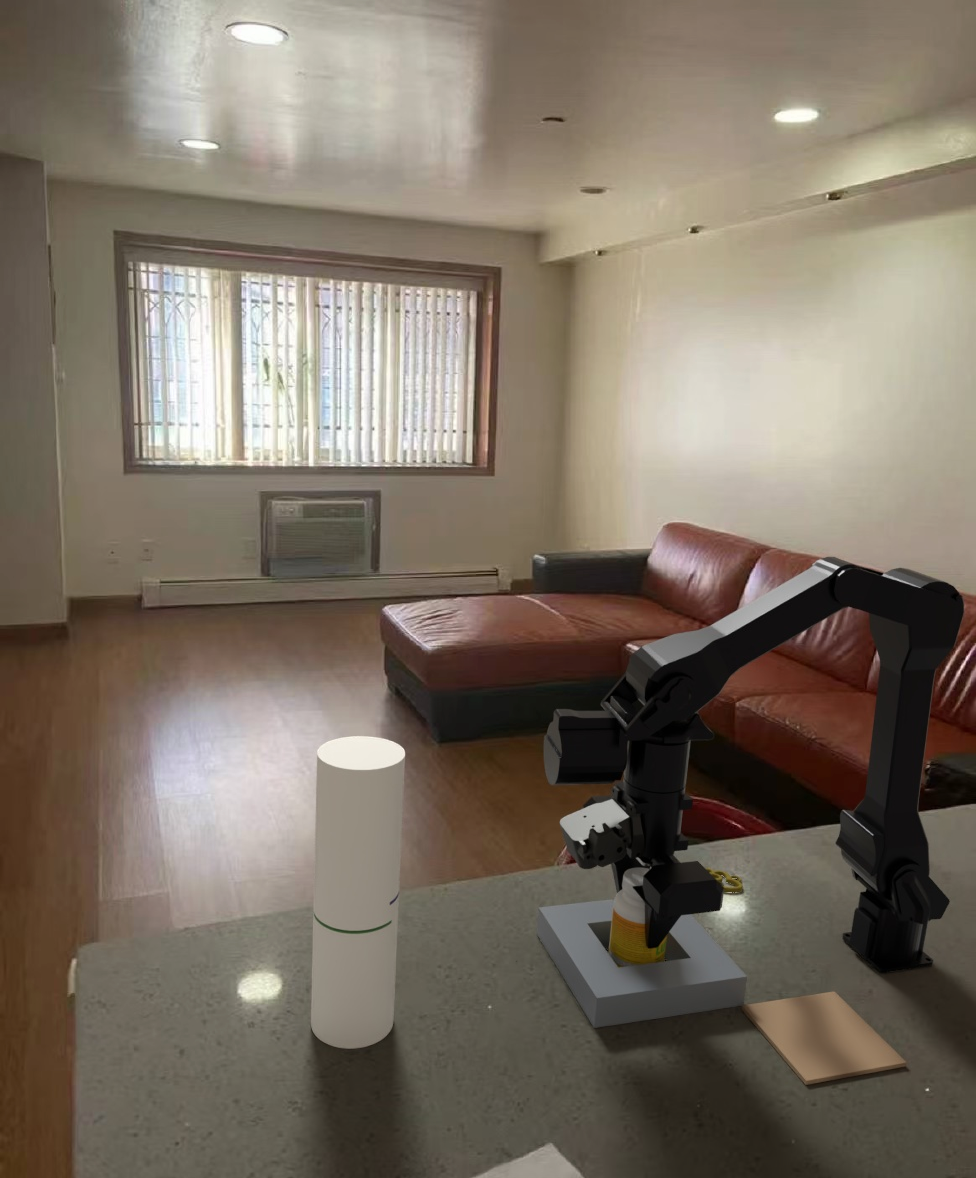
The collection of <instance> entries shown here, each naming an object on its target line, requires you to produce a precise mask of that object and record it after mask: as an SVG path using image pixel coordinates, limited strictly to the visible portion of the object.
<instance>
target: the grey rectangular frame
mask: <svg viewBox="0 0 976 1178" xmlns="http://www.w3.org/2000/svg"><path fill="white" fill-rule="evenodd" d="M613 903H614V898H612V899H602V900H593V901H584V902H576V903H575V902H574V903H568V904H567V903H566V904H565V903H564V904H557V905H550V906H549V905H548V906H540V907H538V912H537V925H536V935H537V937H538V939H539V940H540V941H541V943H542V945H543V947H544V948H545V949H546V952H547V953H548V955H549V956H550V958H551V959H552V961H553V963H554V965H555V966H556V968H557V970H558V971H559V973H560V974H561V976H562V978H563V979H564V981H565V983H566V985H567V986H568V988H569V989H570V991H571V992H572V994H573V996H574V997H575V999H576V1001H577V1002H578V1004H579V1006H580V1007H581V1009H582V1011H583V1012H584V1014H585V1016H586V1017H587V1019H588V1021H589V1022H590V1024H591V1025H592V1027H593V1028H594V1029H598V1028H602V1027H610V1026H617V1025H623V1024H629V1023H636V1022H643V1021H649V1020H654V1019H655V1020H656V1019H662V1018H668V1017H674V1016H675V1017H676V1016H681V1015H682V1016H683V1015H688V1014H696V1013H700V1012H709V1011H713V1010H715V1011H716V1010H719V1009H727V1008H733V1007H739V1006H740V1007H742V1005H745V1004H744V1002H745V997H746V988H747V979H748V976H747V975H746V974H745V973H744V971H743V970H742V969H741V968H740V967H739V966H738V965H737V964H736V962H735V961H734V960H733V959H732V958H731V957H730V956H729V955H728V954H727V953H726V951H725V950H724V949H723V948H722V947H721V946H720V945H719V944H718V943H717V942H716V941H715V939H714V938H713V937H712V936H711V935H710V934H709V932H707V931H706V929H705V928H704V927H703V926H702V925H701V924H700V922H698V921H697V920H696V918H695V917H694V916H693V914H689V915H681V917H680V918H679V919H678V921H677V922H676V923H675V925H674V926H673V927H672V929H671V930H670V931H669V933H668V934H667V941H666V949H665V958H664V959H666V961H665V960H664V962H657V963H650V964H642V965H635V966H627V967H620V968H618V966H617V965H616V964H615V962H614V961H613V959H612V958H611V957H610V955H609V954H608V953H609V951H607V950H606V948H608V949H609V943H610V933H611V923H612V913H613Z"/></svg>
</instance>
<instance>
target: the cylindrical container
mask: <svg viewBox="0 0 976 1178" xmlns="http://www.w3.org/2000/svg"><path fill="white" fill-rule="evenodd" d="M405 768H406V750H405V749H404V747H403V746H401V744H399V743H397V742H395V741H392V740H390V739H387V738H383V737H376V736H367V735H366V736H365V735H355V736H352V735H351V736H344V737H338V738H335V739H331V740H329V741H326V742H324V743H322V744H321V745H320V746H319V747H318V749H317V750H316V779H315V780H316V781H315V782H316V789H315V790H316V791H315V827H314V828H315V830H314V831H315V832H314V833H315V834H314V864H313V865H314V868H313V869H314V873H313V876H314V878H313V905H312V906H313V914H312V915H313V916H312V920H313V921H312V957H311V958H312V960H311V1007H310V1010H311V1011H310V1027H311V1030H312V1032H313V1034H314V1035H315V1037H317V1039H318V1040H320V1041H321V1042H323V1043H325V1044H326V1045H328V1046H331V1047H335V1048H339V1049H349V1050H350V1049H353V1050H354V1049H360V1048H361V1049H362V1048H366V1047H370V1046H371V1045H375V1044H376V1043H378V1042H380V1041H382V1040H383V1039H384V1038H386V1037H387V1036H388V1035H389V1033H390V1032H391V1031H392V1029H393V1026H394V1025H393V1024H394V1022H395V1021H394V1017H395V1015H394V1014H395V997H396V993H395V992H396V973H397V972H396V971H397V969H396V968H397V951H398V950H397V949H398V948H397V947H398V929H399V926H398V924H399V904H400V884H401V883H400V881H401V860H402V859H401V858H402V857H401V856H402V839H403V836H402V834H403V833H402V830H403V813H404V812H403V810H404V792H405V791H404V790H405V772H406V771H405Z"/></svg>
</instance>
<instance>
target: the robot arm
mask: <svg viewBox="0 0 976 1178" xmlns="http://www.w3.org/2000/svg"><path fill="white" fill-rule="evenodd" d="M847 608H851V609H854V610H859V611H863V612H866V613H867V614H868V620H869V621H868V622H869V624H868V625H869V631H870V634H871V636H872V640H873V643H874V645H875V649H876V651H877V652H876V653H877V655H878V658H879V671H878V680H877V690H876V698H875V699H876V700H875V705H874V715H873V722H872V723H873V724H872V733H871V742H870V748H869V749H870V752H869V758H868V759H869V760H868V768H867V769H868V770H867V776H866V785H865V786H866V787H865V793H864V796H863V797H864V798H863V799H862V800H861V801H860V802H859V804H857V806H856V807H855V808H854V810H848V809H847V810H846V809H842V810H841V811H840V813H839V822H840V825H839V827H840V828H839V835H838V837H837V838H836V841H835V845H836V846H837V847H839V849H840V853H841V856H842V860H844V861H845V863H846V864H847V865H848V866H849V868H850V869H851V873H852V878H853V879H855V880H856V881H858V882H859V883H860V884H861V885H862V886H863V887H864V888H865V891H860V893H859V898H858V903H857V907H855V908H854V912H853V918H852V925H851V931H849V932H843V933H842V937H841V939H842V940H843V941H844V942H845V943H846V944H848V946H850V947H851V948H852V949H853V950H855V952H857V954H859V955H860V956H861V958H863V959H865V961H867V962H868V963H869V964H870V965H871V967H873V968H875V969H876V970H877V971H878V972H880V973H885V974H886V973H892V972H894V973H895V972H900V971H907V970H913V969H918V968H919V969H920V968H927V967H932V966H933V965H934V959H933V958H932V957H930V955H928V954H927V953H925V952H924V948H925V947H924V946H925V940H926V936H927V935H926V934H927V929H928V923H929V922H930V921H931V920H933V921H934V920H941V919H942V918H943V916H944V915H945V912H946V910H947V909H948V907H949V905H950V902H951V901H950V899H949V898H948V896H947V895H946V894H945V893H944V892H943V890H942V889H941V888H940V887H939V886H938V885H937V884H936V883H935V881H933V879H932V878H931V877H930V873H931V872H930V870H931V867H930V847H929V843H930V842H929V841H928V837H927V835H926V832H925V831H926V830H925V828H924V825H923V822H922V820H921V816H920V813H919V802H920V801H919V799H920V791H921V786H922V785H921V784H922V777H923V768H924V762H925V754H926V753H925V752H926V746H927V739H928V738H927V737H928V730H929V722H930V714H931V706H932V700H933V691H934V684H935V683H934V682H935V678H936V677H935V676H936V673H937V672H936V671H937V669H938V667H939V666H940V665H942V663H943V661H944V660H945V659H946V658H947V656H949V654H950V653H951V652H952V651H953V649H954V648H955V646H956V643H957V640H958V639H957V638H958V637H959V633H960V629H961V627H962V622H963V618H964V615H965V601H964V597H963V594H960V592H959V591H958V589H956V587H955V586H954V585H952V584H950V583H948V582H946V581H944V580H940V579H939V578H938V579H937V578H935V577H932V576H930V575H926V574H925V573H921V572H918V571H915V570H912V569H910V568H904V567H897V568H891V569H890V570H888V571H886V572H881V571H878V570H874V569H872V568H867V567H865V566H860V565H857V564H854V563H851V562H849V561H846V560H844V559H841V558H839V557H836V556H825V557H823V558H820V559H817V560H816V561H815V562H813V563H812V564H811V566H810V567H809V568H808V569H806V570H804V571H803V572H801V573H799V574H798V575H796V576H794V577H792V578H790V579H789V580H787V581H785V582H784V583H782V584H781V585H778V586H777V587H775V588H773V589H771V590H770V591H767V592H766V593H765V594H763V595H761V596H759V597H758V598H756V599H754V600H752V601H751V602H749V603H747V604H745V605H743V606H742V607H740V608H738V609H737V610H735V611H733V612H731V613H729V614H728V615H726V616H724V617H723V618H721V619H719V620H717V621H715V622H714V623H713V624H711V625H708V626H705V627H703V628H700V629H697V630H691V631H685V632H677V633H674V634H671V635H668V636H666V637H663V638H660V639H658V640H655V641H652V642H650V643H647V644H645V645H643V646H641V647H640V648H638V649H636V650H635V651H634V652H632V654H631V656H630V657H629V662H628V664H627V667H626V669H625V672H624V674H623V675H622V676H621V677H620V678H619V680H618V681H617V682H616V683H615V685H614V686H613V687H612V688H611V689H610V690H609V692H607V694H606V695H605V696H604V697H603V699H602V700H601V701H600V706H601V707H602V708H603V710H574V709H570V708H556V709H554V711H553V717H552V718H553V720H552V721H551V722H549V725H548V728H547V731H546V735H543V736H544V737H543V750H542V751H543V765H544V766H543V767H544V771H545V775H546V776H545V777H546V779H547V781H548V783H549V785H551V786H569V785H570V786H571V785H572V786H574V785H579V786H580V785H581V786H582V785H612V784H614V786H611V791H610V795H599V796H591V797H590V798H589V799H588V800H587V801H586V802H585V803H584V804H583V805H582V808H581V809H580V810H579V809H578V810H577V811H574V812H572V813H570V814H567V815H565V816H564V817H562V818H560V820H559V827H560V829H561V832H562V837H563V839H564V842H565V843H564V844H565V847H566V851H567V852H568V854H569V855H570V856H572V858H573V859H574V860H575V862H576V863H577V866H578V867H579V868H581V869H583V870H591V869H594V868H596V867H600V868H605V867H607V866H609V865H610V867H611V871H612V874H613V875H612V876H613V880H614V885H615V890H616V894H617V893H618V892H619V891H620V890H622V882H623V875H624V873H625V871H627V870H628V869H631V868H648V869H650V870H649V871H648V872H647V873H646V874H645V875H644V876H643V885H642V886H633V889H634V891H635V892H636V893H637V894H638V895H639V897H640V898H641V899H642V900H643V901H644V903H645V938H646V946H647V947H648V948H649V949H651V948H657V947H658V946H659V945H660V944H661V942H662V941H663V940H664V938H665V937H666V936H667V934H668V933H669V931H670V930H671V929H672V927H673V926H674V925H675V923H676V922H677V921H678V919H679V918H680V917H681V915H689V914H691V915H695V914H703V913H713V912H720V911H721V909H722V908H723V902H724V887H723V886H724V885H722V883H719V882H718V881H717V880H716V879H715V878H714V877H713V876H712V875H711V874H710V873H709V872H708V871H707V870H706V869H705V868H706V867H704V866H703V864H701V863H700V861H699V860H695V861H684V862H681V861H680V860H678V858H677V857H676V856H675V852H682V851H687V850H688V848H689V841H690V840H689V839H688V838H687V837H686V835H684V834H683V833H682V832H681V831H682V830H681V827H682V822H683V821H682V818H683V811H688V810H693V804H694V799H693V797H691V796H690V795H689V794H688V793H687V792H686V786H687V776H688V775H687V774H688V766H689V758H690V749H691V741H712V740H713V739H714V738H715V733H714V732H713V731H712V730H711V729H710V728H709V727H708V726H707V725H706V724H705V723H704V721H703V720H702V717H701V714H699V711H701V710H702V709H703V708H704V707H705V706H707V705H708V704H709V703H710V702H712V700H714V699H715V698H716V697H718V696H719V694H721V693H722V691H723V689H724V688H725V686H726V684H727V682H728V681H729V680H730V678H731V677H732V676H733V675H734V674H736V673H737V672H738V671H739V670H740V669H742V668H743V667H745V666H747V665H749V664H750V663H752V662H754V661H757V659H759V658H761V657H762V656H765V654H768V653H769V652H771V651H773V650H774V649H776V648H778V647H780V646H782V645H783V644H785V643H787V642H789V641H790V640H791V639H794V638H795V637H797V636H799V635H800V634H802V633H804V632H805V631H807V630H809V629H811V628H813V627H814V626H815V625H816V626H817V624H819V623H821V622H823V621H824V620H826V619H828V618H829V617H831V616H834V615H835V614H837V613H838V612H841V610H844V609H847ZM637 701H639V702H640V703H641V704H642V705H643V706H642V707H641V709H640V710H638V709H637V708H636V707H635V706H634V705H633V703H635V702H637ZM622 778H623V780H622Z"/></svg>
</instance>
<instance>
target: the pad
mask: <svg viewBox="0 0 976 1178" xmlns="http://www.w3.org/2000/svg"><path fill="white" fill-rule="evenodd" d="M741 1011H742V1012H743V1013H744V1014H745V1016H746V1017H747V1018H748V1019H749V1020H750V1021H751V1022H752V1024H753V1025H754V1026H755V1027H756V1029H758V1031H759V1032H760V1033H761V1034H762V1035H763V1036H764V1037H765V1039H766V1040H767V1042H769V1043H770V1045H771V1046H772V1047H773V1049H775V1051H776V1052H777V1053H778V1054H779V1055H780V1056H781V1058H782V1059H783V1060H784V1062H785V1063H786V1064H787V1065H788V1066H789V1067H790V1069H791V1070H792V1071H793V1072H794V1073H795V1074H796V1076H797V1077H798V1078H799V1079H800V1081H802V1082H803V1083H804V1085H805V1086H806V1085H813V1084H818V1083H822V1082H828V1081H834V1080H840V1079H845V1078H850V1077H856V1076H861V1075H868V1074H872V1073H877V1072H883V1071H887V1070H888V1071H889V1070H893V1069H899V1068H904V1067H906V1066H907V1061H906V1060H905V1059H904V1058H903V1057H902V1056H901V1055H900V1054H899V1053H898V1052H897V1051H896V1050H895V1049H894V1048H893V1047H891V1045H890V1044H888V1043H887V1041H886V1040H885V1039H883V1038H882V1037H881V1035H880V1034H879V1033H878V1032H876V1031H875V1030H874V1028H873V1027H872V1026H870V1025H869V1024H868V1023H867V1022H866V1021H865V1020H864V1019H863V1018H862V1017H861V1016H860V1015H859V1014H858V1013H857V1012H856V1011H855V1010H854V1009H853V1008H852V1006H850V1005H849V1004H848V1003H847V1002H846V1001H845V1000H844V999H843V998H842V997H841V996H839V994H838V993H837V992H836V991H828V992H821V993H816V994H808V995H801V996H795V997H788V998H783V999H776V1000H769V1001H768V1000H767V1001H763V1002H757V1003H756V1002H755V1003H748V1004H743V1005H741Z"/></svg>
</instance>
